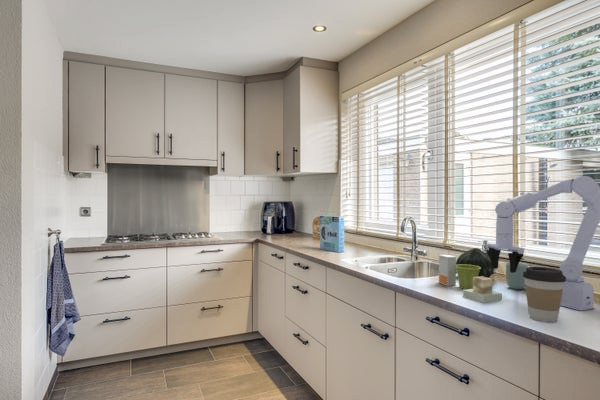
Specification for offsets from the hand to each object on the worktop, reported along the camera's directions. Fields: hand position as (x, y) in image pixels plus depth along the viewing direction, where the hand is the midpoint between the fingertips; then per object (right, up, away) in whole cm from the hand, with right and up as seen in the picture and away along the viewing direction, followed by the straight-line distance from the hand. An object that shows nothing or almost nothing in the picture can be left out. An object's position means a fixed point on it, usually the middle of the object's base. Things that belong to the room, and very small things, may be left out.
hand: (503, 270), depth 145 cm
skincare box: (-14, -9, +18) cm, 25 cm away
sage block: (-10, -10, -4) cm, 15 cm away
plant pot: (-8, -9, +12) cm, 17 cm away
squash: (+2, -9, +28) cm, 30 cm away
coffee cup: (-2, -10, -27) cm, 29 cm away
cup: (+11, -10, +12) cm, 19 cm away
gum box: (-55, -7, +112) cm, 125 cm away
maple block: (-10, -7, -5) cm, 13 cm away
